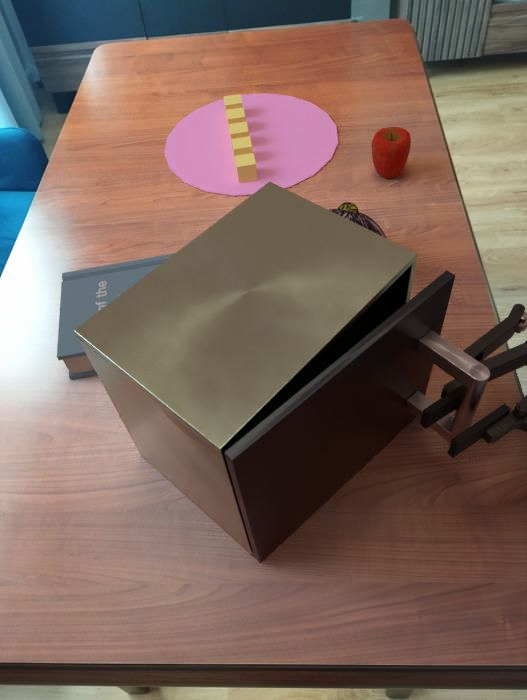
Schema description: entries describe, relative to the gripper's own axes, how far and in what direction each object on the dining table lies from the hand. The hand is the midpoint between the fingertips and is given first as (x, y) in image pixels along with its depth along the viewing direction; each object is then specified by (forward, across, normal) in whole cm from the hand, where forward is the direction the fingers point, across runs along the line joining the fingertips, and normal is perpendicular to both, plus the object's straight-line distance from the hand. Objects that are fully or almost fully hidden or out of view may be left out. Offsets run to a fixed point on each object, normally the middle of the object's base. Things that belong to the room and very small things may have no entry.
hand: (438, 433), depth 54 cm
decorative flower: (-13, +32, -12) cm, 37 cm away
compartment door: (+6, +2, -12) cm, 13 cm away
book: (+14, +40, -12) cm, 44 cm away
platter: (-20, +68, -12) cm, 72 cm away
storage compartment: (+10, +16, -12) cm, 22 cm away
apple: (-33, +46, -12) cm, 58 cm away
